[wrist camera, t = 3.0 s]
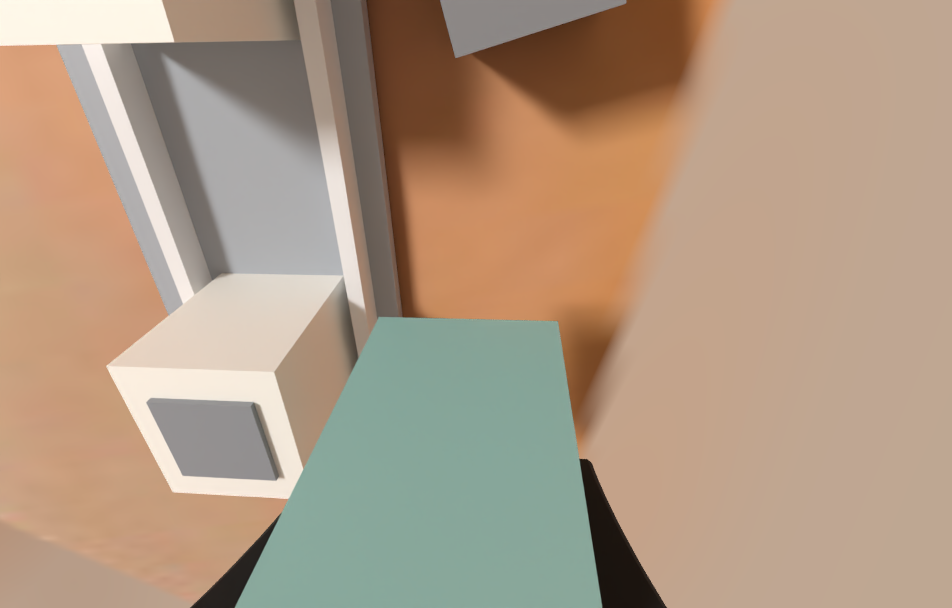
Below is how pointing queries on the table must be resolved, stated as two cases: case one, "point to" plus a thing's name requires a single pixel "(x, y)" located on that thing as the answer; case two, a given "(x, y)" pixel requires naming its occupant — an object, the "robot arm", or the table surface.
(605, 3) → the dark loose block
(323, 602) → the block
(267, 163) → the board
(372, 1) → the table surface
